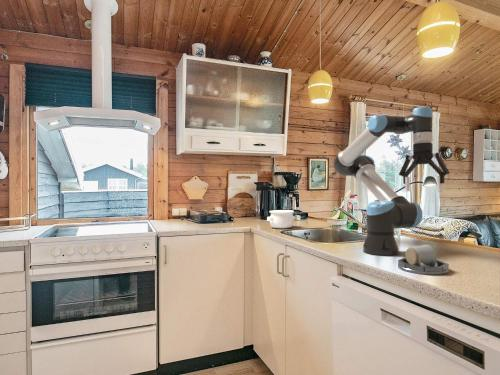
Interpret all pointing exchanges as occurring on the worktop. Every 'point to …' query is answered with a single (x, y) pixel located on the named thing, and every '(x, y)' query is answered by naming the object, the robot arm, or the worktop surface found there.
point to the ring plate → (424, 268)
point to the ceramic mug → (421, 256)
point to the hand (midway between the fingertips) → (423, 191)
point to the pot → (281, 218)
